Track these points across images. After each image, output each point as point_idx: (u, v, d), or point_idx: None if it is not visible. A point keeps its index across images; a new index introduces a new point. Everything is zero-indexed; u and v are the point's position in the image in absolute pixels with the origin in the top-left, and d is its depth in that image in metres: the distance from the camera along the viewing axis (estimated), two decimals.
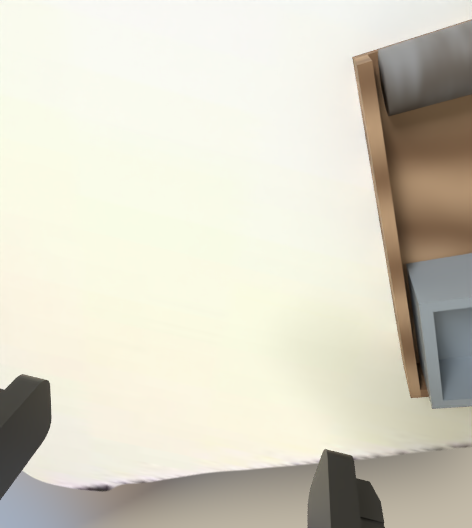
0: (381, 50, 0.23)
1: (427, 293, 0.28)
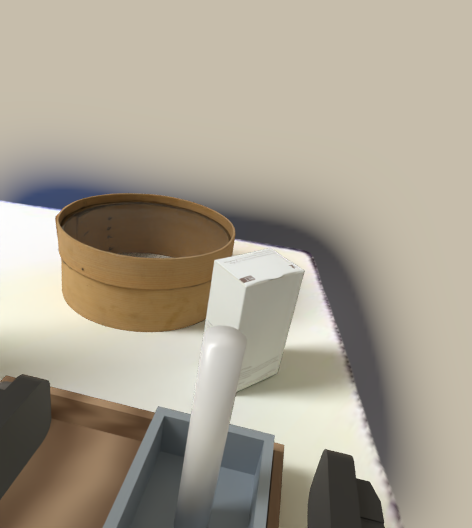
0: None
1: None
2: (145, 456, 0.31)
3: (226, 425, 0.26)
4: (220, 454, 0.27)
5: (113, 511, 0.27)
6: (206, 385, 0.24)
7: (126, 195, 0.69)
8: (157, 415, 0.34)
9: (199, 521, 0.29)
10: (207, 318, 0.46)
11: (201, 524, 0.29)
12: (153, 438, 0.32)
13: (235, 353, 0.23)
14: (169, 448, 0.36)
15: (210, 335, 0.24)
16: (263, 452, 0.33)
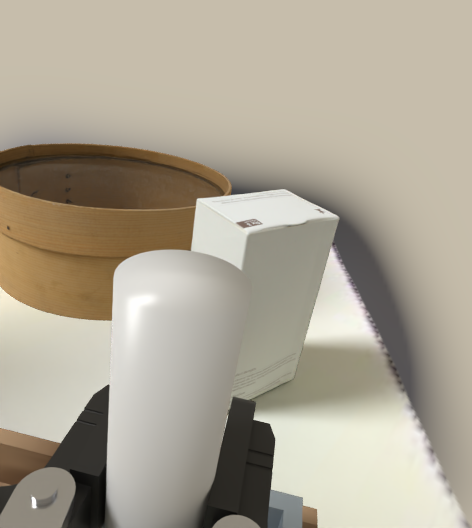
0: None
1: None
2: None
3: (197, 526, 0.10)
4: None
5: None
6: (129, 424, 0.08)
7: (90, 146, 0.53)
8: None
9: None
10: None
11: None
12: None
13: (213, 321, 0.07)
14: None
15: (139, 270, 0.08)
16: None
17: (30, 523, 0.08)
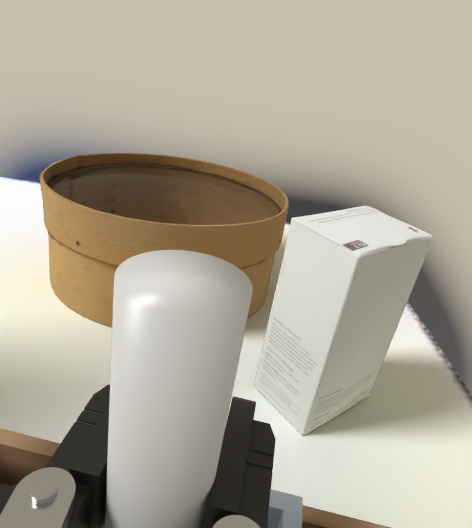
0: None
1: None
2: None
3: (197, 526, 0.10)
4: None
5: None
6: (130, 424, 0.08)
7: (136, 156, 0.53)
8: None
9: None
10: (273, 313, 0.30)
11: None
12: None
13: (214, 321, 0.07)
14: None
15: (139, 270, 0.08)
16: None
17: (31, 522, 0.08)
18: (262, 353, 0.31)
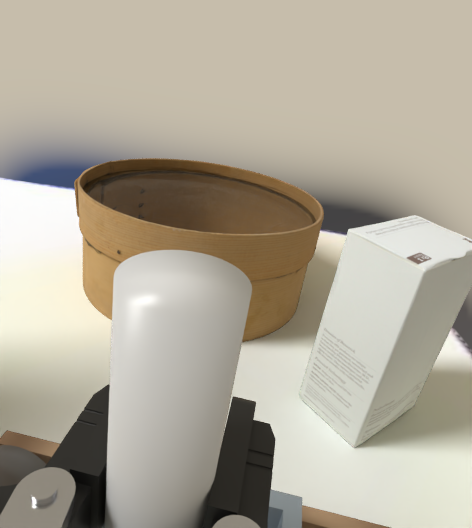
0: None
1: None
2: None
3: (197, 526, 0.10)
4: None
5: None
6: (129, 424, 0.08)
7: (164, 161, 0.52)
8: None
9: None
10: (323, 324, 0.29)
11: None
12: None
13: (213, 321, 0.07)
14: None
15: (139, 270, 0.08)
16: None
17: (30, 523, 0.08)
18: (310, 364, 0.31)
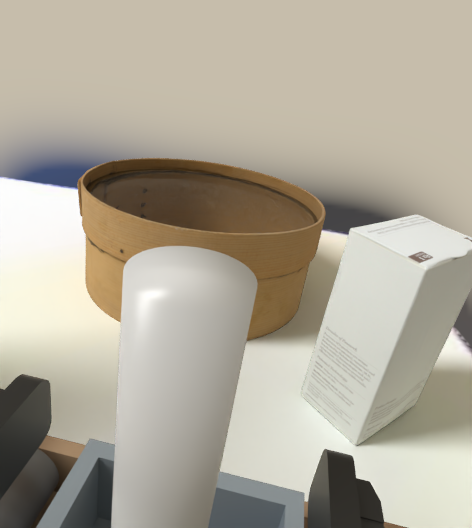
0: None
1: None
2: None
3: (202, 516, 0.10)
4: None
5: None
6: (137, 415, 0.08)
7: (166, 161, 0.52)
8: (85, 457, 0.18)
9: None
10: (325, 323, 0.30)
11: None
12: (68, 507, 0.16)
13: (220, 314, 0.07)
14: None
15: (147, 265, 0.08)
16: None
17: None
18: (312, 363, 0.31)
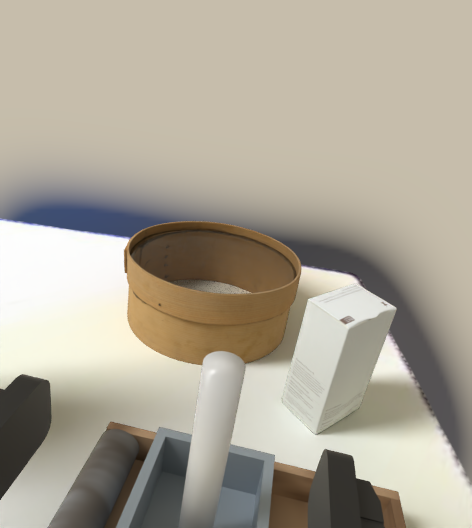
0: None
1: None
2: (147, 478, 0.31)
3: (226, 449, 0.26)
4: (220, 477, 0.27)
5: None
6: (206, 410, 0.24)
7: (183, 223, 0.69)
8: (158, 436, 0.35)
9: None
10: (295, 355, 0.46)
11: None
12: (154, 460, 0.33)
13: (234, 379, 0.23)
14: (170, 468, 0.36)
15: (209, 361, 0.24)
16: (263, 472, 0.33)
17: None
18: (288, 381, 0.48)
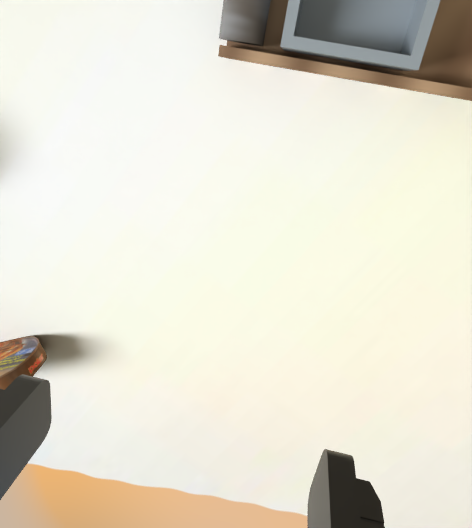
0: (219, 36, 0.33)
1: None
2: None
3: None
4: None
5: None
6: None
7: None
8: None
9: None
10: None
11: None
12: None
13: None
14: None
15: None
16: None
17: None
18: None
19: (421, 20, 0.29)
